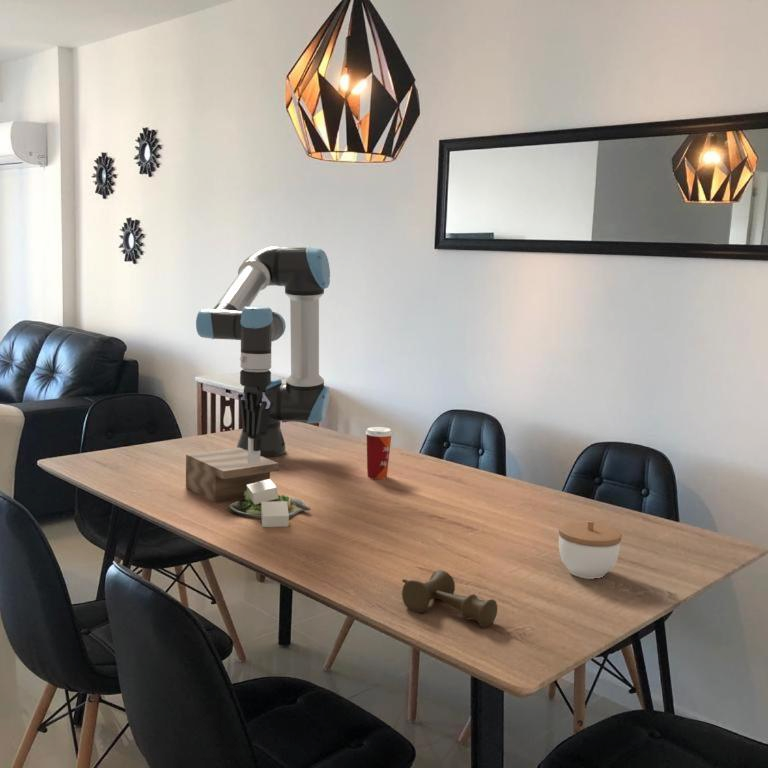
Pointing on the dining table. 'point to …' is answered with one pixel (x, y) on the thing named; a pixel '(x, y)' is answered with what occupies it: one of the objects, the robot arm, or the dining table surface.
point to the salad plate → (250, 510)
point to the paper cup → (378, 451)
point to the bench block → (225, 473)
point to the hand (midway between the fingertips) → (253, 462)
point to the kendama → (447, 598)
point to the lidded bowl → (588, 548)
